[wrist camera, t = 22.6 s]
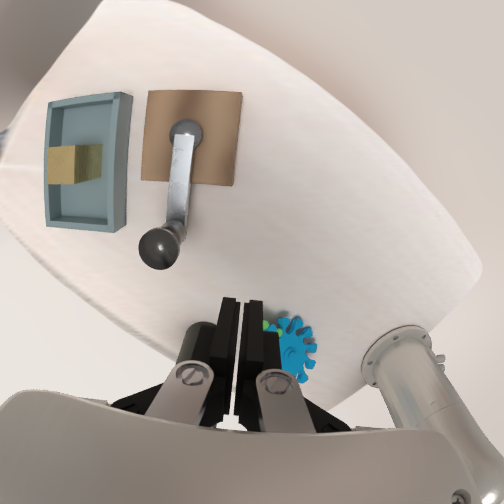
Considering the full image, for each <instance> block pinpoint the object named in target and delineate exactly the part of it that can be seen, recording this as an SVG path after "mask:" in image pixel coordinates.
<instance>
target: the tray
mask: <svg viewBox="0 0 504 504" xmlns="http://www.w3.org/2000/svg"><path fill="white" fill-rule="evenodd" d="M132 103H133V96H131V95H128V94H125V93H123V92H113V93H104V94H96V95H88V96H82V97H75V98H69V99H64V100H58V101H53V102H49V103H48V110H47V119H46V131H45V147H44V201H45V217H46V227H57V228H68V229H79V230H89V231H100V232H110V233H115V232H116V231H118V230H119V229H121V228H122V227H124V226H125V225H126V183H127V159H128V143H129V131H130V120H131V111H132ZM91 144H103V147H102V168H101V177H100V178H96V179H92V180H88V181H85V182H81V183H77V184H47V148H48V147H59V146H71V145H91Z"/></svg>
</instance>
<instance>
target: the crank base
mask: <svg viewBox="0 0 504 504" xmlns="http://www.w3.org/2000/svg"><path fill="white" fill-rule="evenodd" d="M241 104H242V92H229V91H209V90H156V91H149V92H148V100H147V108H146V117H145V127H144V138H143V151H142V167H141V180H148V181H168V182H169V181H170V171H171V162H172V154H173V145H172V144H171V142H170V139H169V133H170V130H171V128H172V126H173V125H174V124H175V123H176V122H178V121H180V120H183V119H189V120H192V121H194V122H196V123H198V124H199V125H200V127H201V129H202V132H203V138H202V141H201V143H200V144H199V145H198V146H197V147H196V148H195V154H194V162H193V170H192V178H191V183H198V184H211V185H223V186H232V185H233V179H234V169H235V159H236V149H237V140H238V131H239V122H240V113H241Z"/></svg>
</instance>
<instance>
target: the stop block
mask: <svg viewBox="0 0 504 504" xmlns="http://www.w3.org/2000/svg"><path fill="white" fill-rule="evenodd" d="M102 147H103V144H91V145H71V146H59V147H48V148H47V184H77V183H81V182H85V181H88V180H92V179H96V178H100V177H101V168H102Z"/></svg>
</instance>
